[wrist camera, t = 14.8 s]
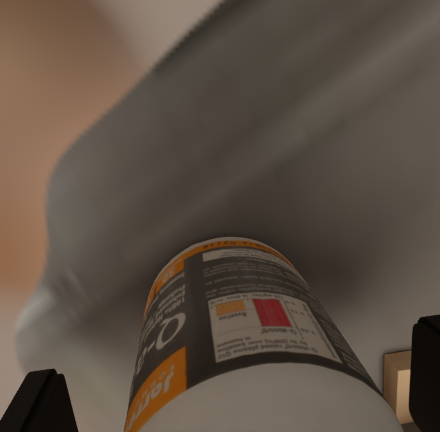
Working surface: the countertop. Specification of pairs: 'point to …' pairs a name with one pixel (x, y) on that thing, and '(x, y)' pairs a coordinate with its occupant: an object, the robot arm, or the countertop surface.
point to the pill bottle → (246, 351)
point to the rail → (399, 387)
